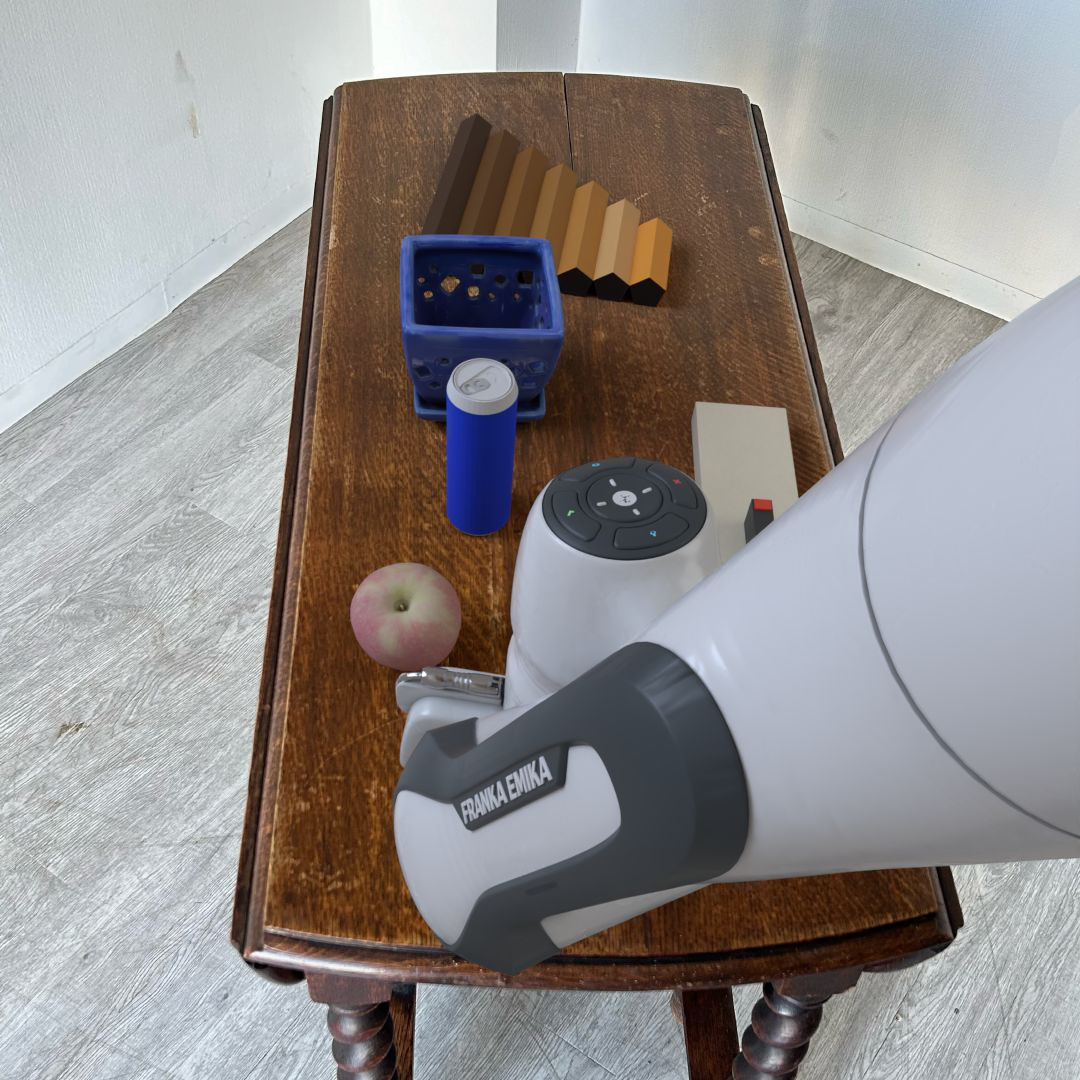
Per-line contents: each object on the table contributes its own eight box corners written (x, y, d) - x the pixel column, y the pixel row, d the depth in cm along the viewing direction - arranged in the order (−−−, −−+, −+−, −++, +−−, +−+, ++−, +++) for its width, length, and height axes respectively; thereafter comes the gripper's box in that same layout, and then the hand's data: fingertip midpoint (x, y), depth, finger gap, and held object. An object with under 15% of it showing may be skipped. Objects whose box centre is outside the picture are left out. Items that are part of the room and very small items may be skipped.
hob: (812, 618, 87) (821, 598, 84) (695, 610, 86) (701, 590, 84) (786, 428, 100) (793, 407, 98) (684, 420, 100) (689, 399, 98)
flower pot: (545, 339, 105) (554, 232, 96) (556, 439, 97) (567, 333, 88) (404, 338, 104) (399, 230, 95) (403, 440, 96) (398, 333, 87)
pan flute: (460, 138, 126) (413, 272, 110) (461, 110, 124) (412, 243, 108) (679, 168, 125) (662, 307, 109) (683, 140, 123) (668, 279, 107)
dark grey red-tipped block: (769, 574, 86) (778, 547, 83) (748, 572, 86) (757, 546, 83) (763, 524, 89) (772, 497, 86) (743, 523, 89) (752, 496, 86)
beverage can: (484, 482, 93) (489, 346, 82) (522, 520, 91) (533, 385, 79) (434, 510, 91) (432, 373, 79) (472, 550, 89) (476, 415, 77)
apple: (333, 661, 81) (323, 596, 75) (394, 591, 86) (390, 524, 79) (423, 713, 79) (420, 650, 73) (481, 638, 83) (484, 573, 77)
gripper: (380, 716, 57) (390, 831, 68) (777, 779, 56) (724, 885, 67) (406, 617, 61) (412, 740, 72) (778, 675, 60) (728, 791, 71)
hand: (565, 811), depth 69 cm, fingers closed, pressing on power button
